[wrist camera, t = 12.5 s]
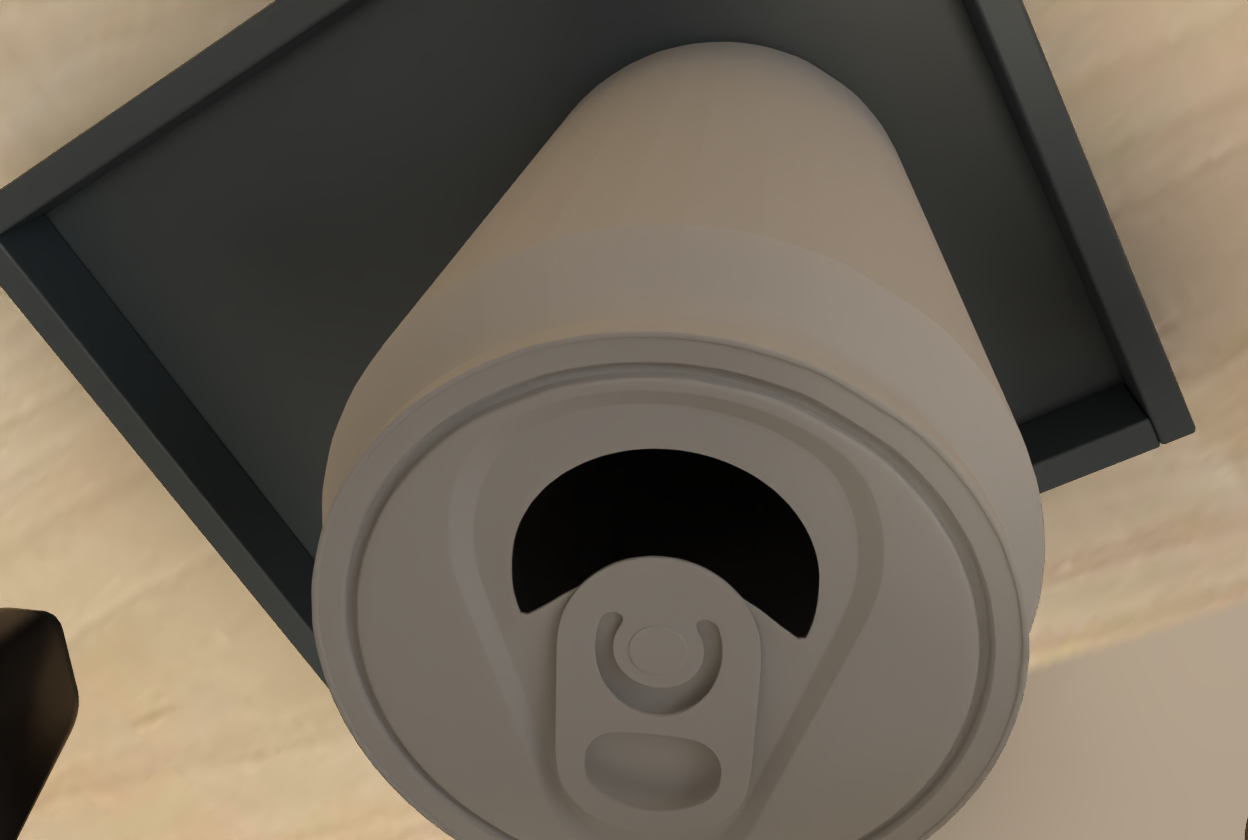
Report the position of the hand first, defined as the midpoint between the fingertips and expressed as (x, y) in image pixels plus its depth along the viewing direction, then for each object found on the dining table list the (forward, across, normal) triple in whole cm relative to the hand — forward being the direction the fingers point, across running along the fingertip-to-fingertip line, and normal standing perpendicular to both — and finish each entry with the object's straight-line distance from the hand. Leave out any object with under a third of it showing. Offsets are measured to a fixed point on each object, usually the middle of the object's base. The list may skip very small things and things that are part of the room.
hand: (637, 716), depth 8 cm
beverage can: (+13, 0, 0) cm, 13 cm away
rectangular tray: (+13, +2, +1) cm, 13 cm away
